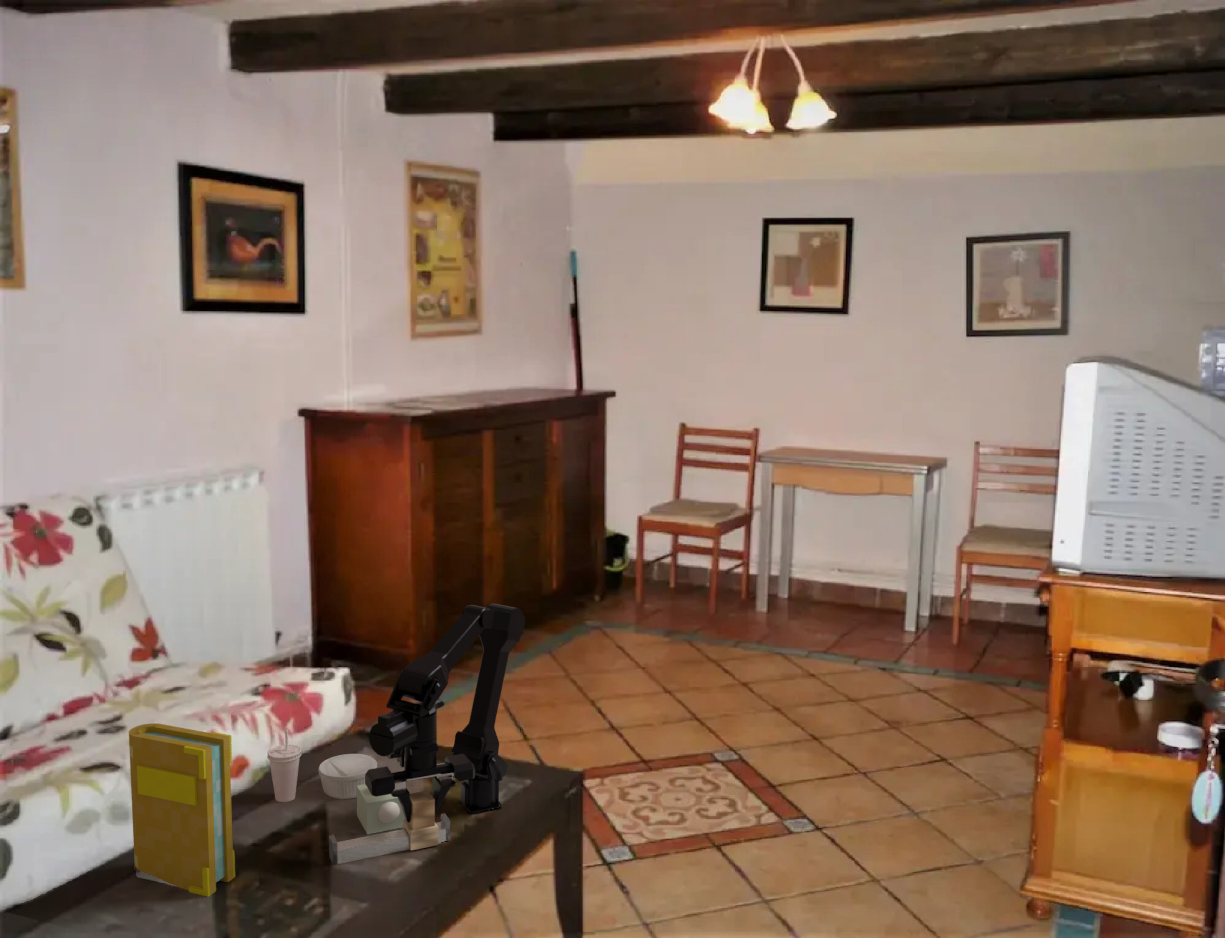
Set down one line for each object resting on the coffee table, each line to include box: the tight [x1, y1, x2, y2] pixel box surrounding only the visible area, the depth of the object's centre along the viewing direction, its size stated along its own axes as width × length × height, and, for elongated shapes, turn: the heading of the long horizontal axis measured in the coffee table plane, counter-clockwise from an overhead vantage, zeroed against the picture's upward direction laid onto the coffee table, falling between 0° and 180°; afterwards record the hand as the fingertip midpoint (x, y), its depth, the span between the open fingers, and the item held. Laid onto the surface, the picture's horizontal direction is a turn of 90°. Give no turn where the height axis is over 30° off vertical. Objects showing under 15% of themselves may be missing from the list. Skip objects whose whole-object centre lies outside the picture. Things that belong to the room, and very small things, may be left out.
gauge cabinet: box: [356, 784, 405, 835], centre depth 201 cm, size 8×8×6 cm
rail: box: [328, 812, 451, 866], centre depth 191 cm, size 21×3×4 cm, turn 116°
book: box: [128, 723, 236, 898], centre depth 178 cm, size 17×7×25 cm, turn 71°
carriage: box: [402, 790, 439, 851], centre depth 193 cm, size 5×5×8 cm
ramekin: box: [318, 753, 378, 800], centre depth 214 cm, size 11×11×5 cm
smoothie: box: [267, 728, 302, 803], centre depth 209 cm, size 6×6×14 cm
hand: (420, 819), depth 193 cm, fingers open, 4 cm apart
